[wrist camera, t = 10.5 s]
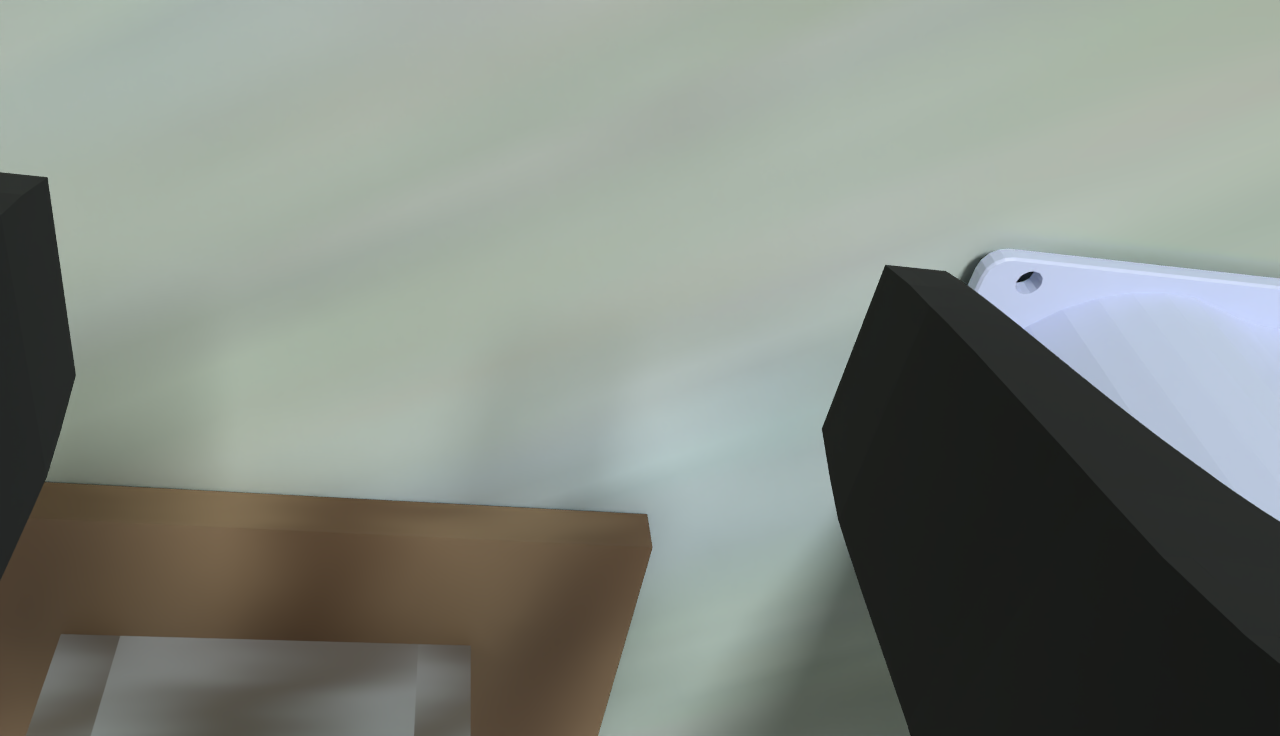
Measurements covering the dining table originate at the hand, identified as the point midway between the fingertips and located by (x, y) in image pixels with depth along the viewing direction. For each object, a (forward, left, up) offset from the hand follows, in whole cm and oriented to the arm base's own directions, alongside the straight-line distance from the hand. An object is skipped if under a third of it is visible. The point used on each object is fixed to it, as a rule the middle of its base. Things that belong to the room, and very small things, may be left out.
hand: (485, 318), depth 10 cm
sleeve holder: (+3, +20, -9) cm, 22 cm away
